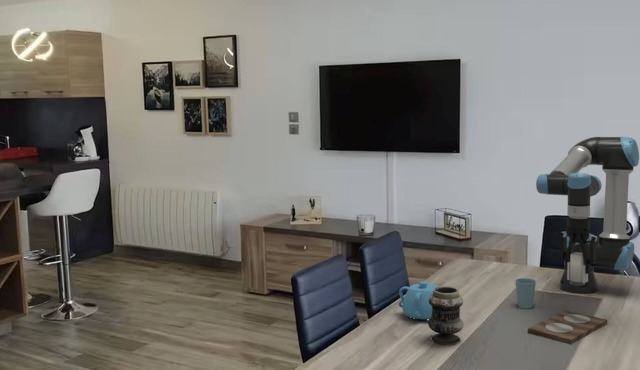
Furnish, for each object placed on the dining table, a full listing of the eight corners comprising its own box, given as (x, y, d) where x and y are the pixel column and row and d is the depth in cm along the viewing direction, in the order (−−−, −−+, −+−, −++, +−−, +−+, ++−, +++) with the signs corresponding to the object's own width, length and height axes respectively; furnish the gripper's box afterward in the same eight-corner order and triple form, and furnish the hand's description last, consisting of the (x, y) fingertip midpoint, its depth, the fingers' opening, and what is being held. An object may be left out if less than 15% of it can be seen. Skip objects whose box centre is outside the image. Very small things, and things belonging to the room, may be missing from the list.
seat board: (565, 314, 250) (565, 309, 250) (607, 323, 238) (607, 318, 238) (527, 332, 232) (527, 327, 232) (571, 344, 220) (571, 338, 220)
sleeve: (574, 281, 241) (574, 251, 239) (587, 283, 237) (587, 253, 236) (567, 284, 237) (567, 254, 236) (580, 286, 234) (581, 256, 232)
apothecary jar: (456, 348, 220) (455, 296, 218) (422, 342, 226) (422, 291, 224) (468, 336, 230) (468, 286, 228) (436, 331, 236) (435, 282, 234)
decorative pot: (435, 308, 262) (434, 274, 261) (452, 320, 247) (452, 285, 245) (396, 312, 259) (395, 278, 257) (411, 325, 243) (410, 289, 242)
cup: (539, 307, 259) (539, 281, 257) (524, 310, 256) (524, 284, 254) (526, 302, 266) (526, 277, 264) (511, 305, 262) (511, 279, 261)
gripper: (549, 215, 238) (548, 278, 241) (598, 221, 225) (597, 287, 228) (560, 212, 243) (559, 274, 246) (608, 218, 230) (607, 283, 233)
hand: (577, 280), depth 237 cm, fingers closed on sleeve, 5 cm apart
